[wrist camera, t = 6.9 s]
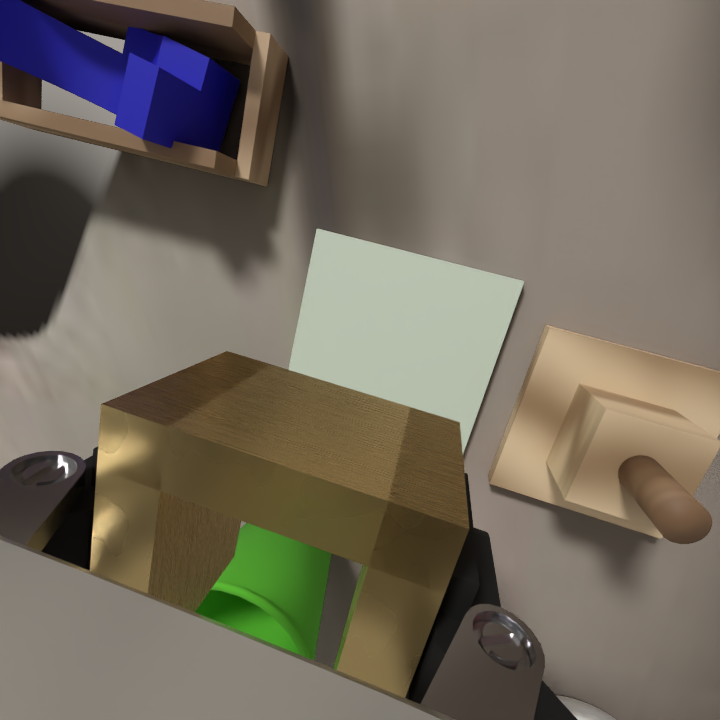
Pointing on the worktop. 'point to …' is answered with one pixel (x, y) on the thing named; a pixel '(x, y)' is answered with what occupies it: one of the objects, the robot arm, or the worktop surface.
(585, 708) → the spoon rest
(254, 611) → the cup
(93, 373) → the worktop surface
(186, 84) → the blue stepped block
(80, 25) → the clip holder
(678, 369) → the peg stand
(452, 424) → the c link
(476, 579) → the robot arm
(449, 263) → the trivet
